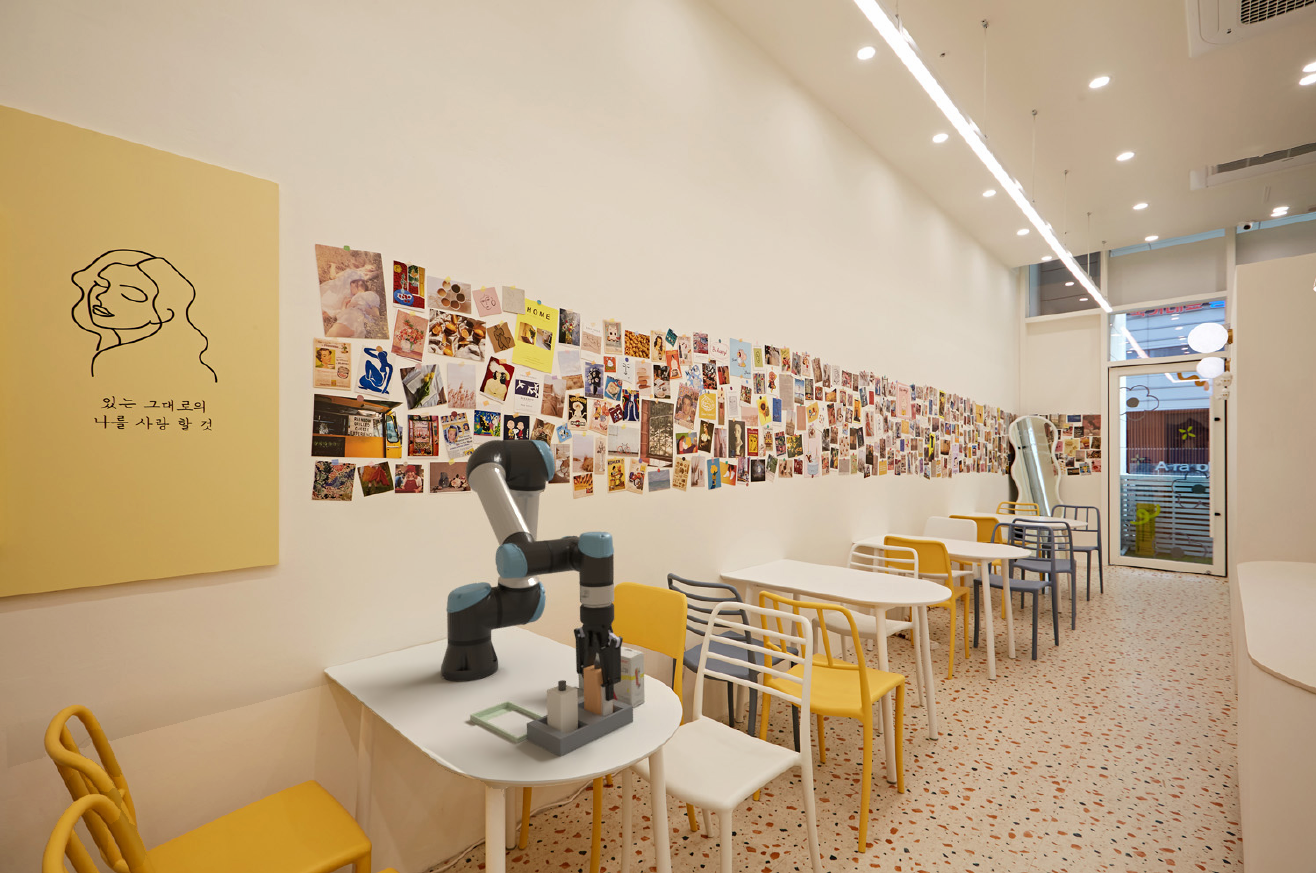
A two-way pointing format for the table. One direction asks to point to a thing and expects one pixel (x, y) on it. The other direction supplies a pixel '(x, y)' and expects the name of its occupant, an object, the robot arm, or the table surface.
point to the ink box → (631, 678)
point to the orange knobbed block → (593, 688)
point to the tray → (497, 711)
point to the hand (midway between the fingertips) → (598, 711)
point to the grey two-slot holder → (579, 729)
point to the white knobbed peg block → (562, 708)
